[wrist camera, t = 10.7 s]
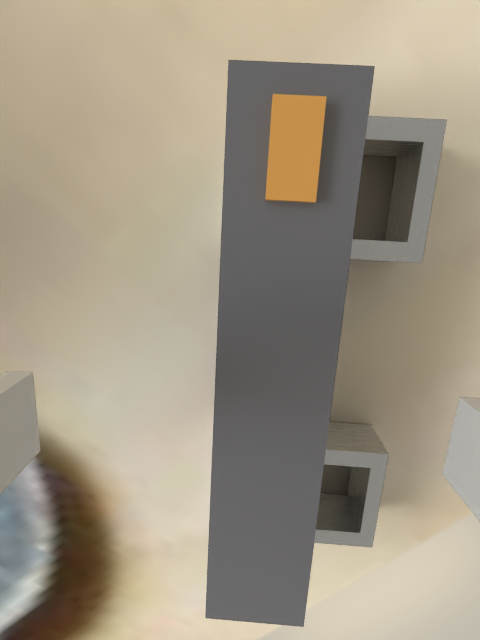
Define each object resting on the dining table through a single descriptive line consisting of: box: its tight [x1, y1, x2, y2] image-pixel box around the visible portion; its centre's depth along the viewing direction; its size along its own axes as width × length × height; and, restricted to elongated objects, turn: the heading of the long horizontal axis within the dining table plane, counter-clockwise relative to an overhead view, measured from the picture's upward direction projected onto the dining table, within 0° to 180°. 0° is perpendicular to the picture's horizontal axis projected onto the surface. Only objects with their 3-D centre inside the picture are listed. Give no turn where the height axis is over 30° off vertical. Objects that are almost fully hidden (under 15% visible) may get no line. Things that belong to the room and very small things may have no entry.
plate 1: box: [314, 422, 388, 547], centre depth 21 cm, size 9×6×3 cm, turn 87°
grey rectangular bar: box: [206, 60, 375, 627], centre depth 17 cm, size 4×22×8 cm, turn 177°
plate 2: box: [350, 116, 447, 263], centre depth 17 cm, size 9×6×3 cm, turn 87°
